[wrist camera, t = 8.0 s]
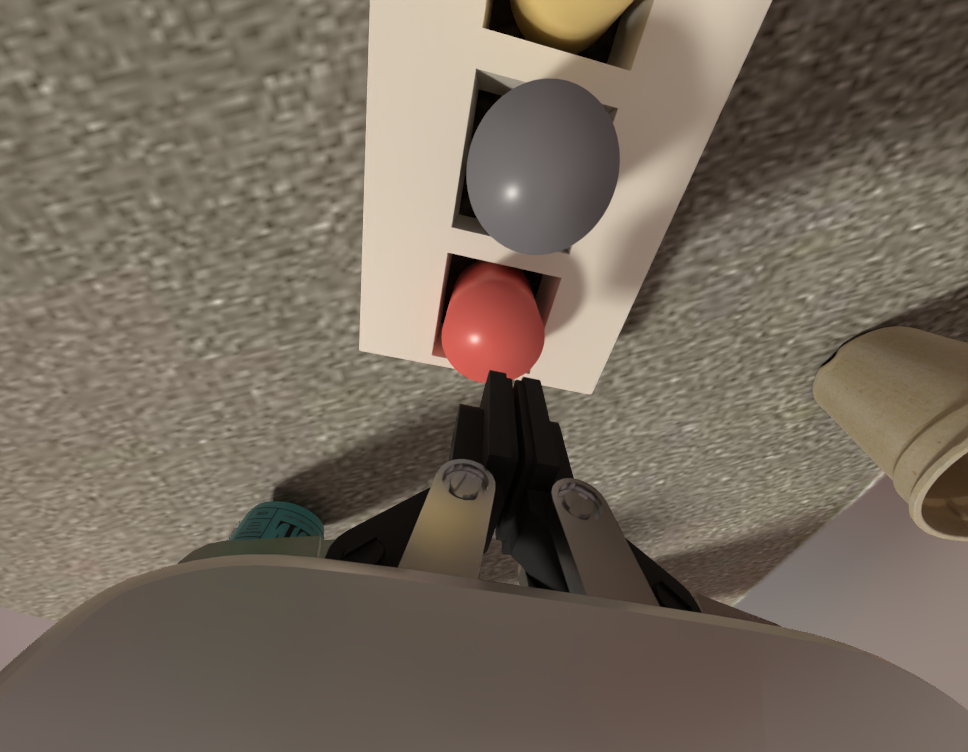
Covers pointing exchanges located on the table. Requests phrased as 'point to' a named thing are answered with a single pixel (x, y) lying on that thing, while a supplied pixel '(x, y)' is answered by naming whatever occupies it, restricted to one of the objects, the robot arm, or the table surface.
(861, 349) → the flower pot
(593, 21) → the ochre button
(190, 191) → the table surface
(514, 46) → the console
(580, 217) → the charcoal button
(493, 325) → the red button
